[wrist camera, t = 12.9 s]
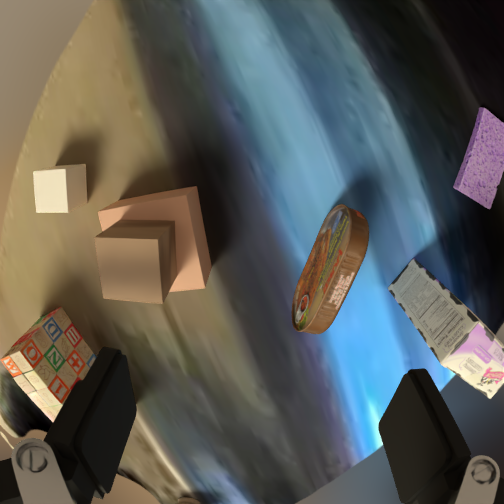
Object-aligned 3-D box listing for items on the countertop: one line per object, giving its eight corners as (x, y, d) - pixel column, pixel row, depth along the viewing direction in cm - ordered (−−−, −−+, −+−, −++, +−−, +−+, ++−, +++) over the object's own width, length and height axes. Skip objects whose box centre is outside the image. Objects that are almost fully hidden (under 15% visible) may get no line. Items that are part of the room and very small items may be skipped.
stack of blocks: (137, 404, 49) (117, 458, 37) (112, 409, 50) (91, 459, 38) (61, 305, 42) (18, 351, 30) (39, 316, 43) (-2, 360, 31)
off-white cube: (55, 165, 35) (33, 171, 30) (86, 163, 35) (65, 168, 30) (57, 203, 36) (36, 212, 32) (87, 202, 37) (68, 212, 32)
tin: (333, 196, 36) (354, 213, 28) (356, 206, 36) (382, 225, 29) (286, 306, 41) (293, 345, 33) (309, 312, 41) (319, 351, 34)
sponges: (450, 186, 36) (458, 189, 34) (477, 105, 31) (485, 105, 30) (482, 207, 36) (490, 210, 35) (508, 131, 32) (516, 132, 30)
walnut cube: (120, 219, 31) (94, 237, 26) (174, 220, 31) (157, 239, 26) (125, 272, 33) (103, 298, 28) (177, 276, 33) (162, 303, 28)
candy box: (462, 303, 41) (522, 366, 26) (438, 332, 43) (489, 401, 27) (413, 255, 38) (482, 320, 23) (385, 289, 40) (440, 366, 25)
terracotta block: (119, 200, 37) (97, 211, 31) (197, 185, 36) (186, 195, 30) (137, 274, 40) (121, 296, 34) (212, 266, 39) (205, 288, 34)
